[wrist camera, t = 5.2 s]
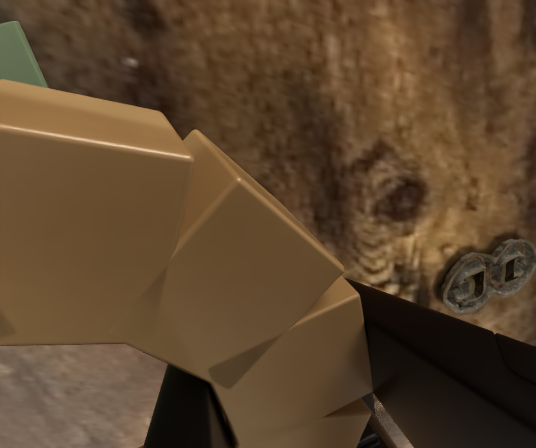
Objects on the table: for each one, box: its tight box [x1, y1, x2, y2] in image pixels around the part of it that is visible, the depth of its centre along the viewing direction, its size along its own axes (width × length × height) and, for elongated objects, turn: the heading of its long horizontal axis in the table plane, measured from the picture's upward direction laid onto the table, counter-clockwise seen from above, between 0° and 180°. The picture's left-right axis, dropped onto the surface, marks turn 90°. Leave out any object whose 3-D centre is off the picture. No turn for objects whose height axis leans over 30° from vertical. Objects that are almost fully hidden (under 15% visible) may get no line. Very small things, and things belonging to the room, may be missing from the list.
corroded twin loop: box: [441, 238, 536, 315], centre depth 30 cm, size 5×8×1 cm, turn 101°
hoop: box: [0, 79, 373, 448], centre depth 8 cm, size 12×12×3 cm
